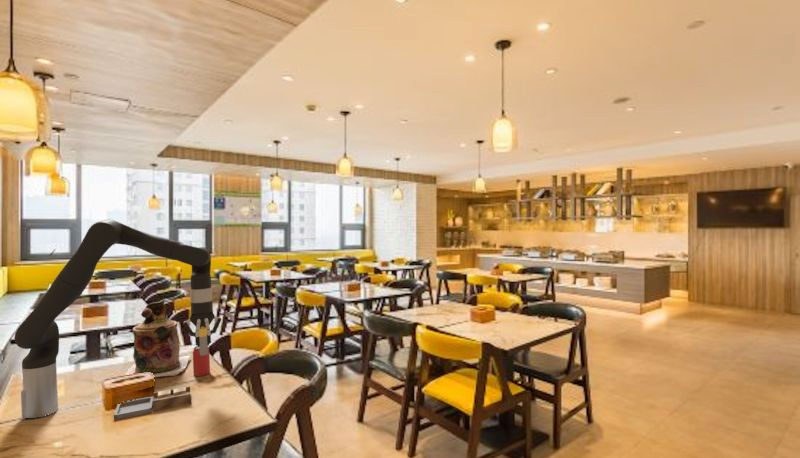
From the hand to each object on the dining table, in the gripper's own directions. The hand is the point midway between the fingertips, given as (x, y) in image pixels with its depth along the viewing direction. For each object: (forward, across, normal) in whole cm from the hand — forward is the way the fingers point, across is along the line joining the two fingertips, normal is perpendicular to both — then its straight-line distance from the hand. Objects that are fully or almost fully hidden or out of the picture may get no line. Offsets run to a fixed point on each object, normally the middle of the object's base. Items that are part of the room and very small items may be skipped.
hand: (203, 345), depth 161 cm
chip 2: (+17, -9, 0) cm, 19 cm away
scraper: (+3, 0, 0) cm, 3 cm away
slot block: (+19, -11, 0) cm, 22 cm away
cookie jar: (+19, -18, +45) cm, 52 cm away
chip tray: (+19, -23, 0) cm, 30 cm away
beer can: (+19, 0, +28) cm, 34 cm away
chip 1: (+17, -14, 0) cm, 22 cm away
